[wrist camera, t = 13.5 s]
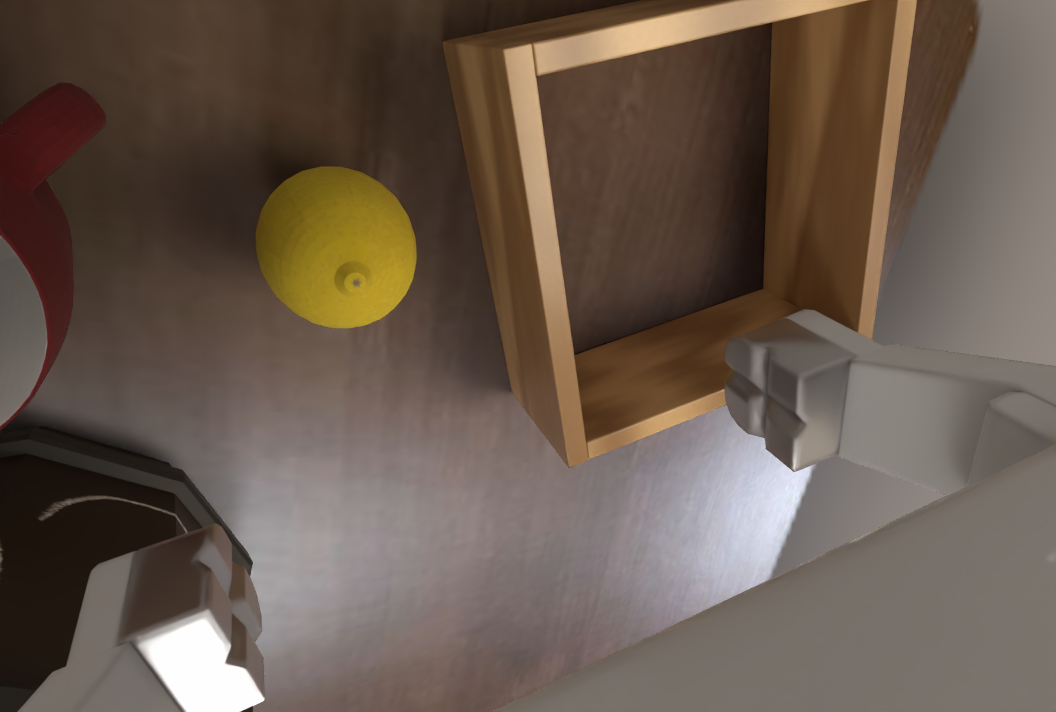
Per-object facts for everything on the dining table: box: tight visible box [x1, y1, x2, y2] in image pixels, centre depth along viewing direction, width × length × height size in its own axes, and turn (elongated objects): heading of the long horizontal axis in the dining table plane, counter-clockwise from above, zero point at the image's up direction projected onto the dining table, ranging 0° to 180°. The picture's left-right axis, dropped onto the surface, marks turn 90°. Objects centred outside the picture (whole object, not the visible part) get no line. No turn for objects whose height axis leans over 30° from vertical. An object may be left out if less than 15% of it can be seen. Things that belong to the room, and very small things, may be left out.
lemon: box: [256, 167, 417, 328], centre depth 24 cm, size 6×6×8 cm
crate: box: [442, 0, 917, 468], centre depth 30 cm, size 17×17×7 cm
